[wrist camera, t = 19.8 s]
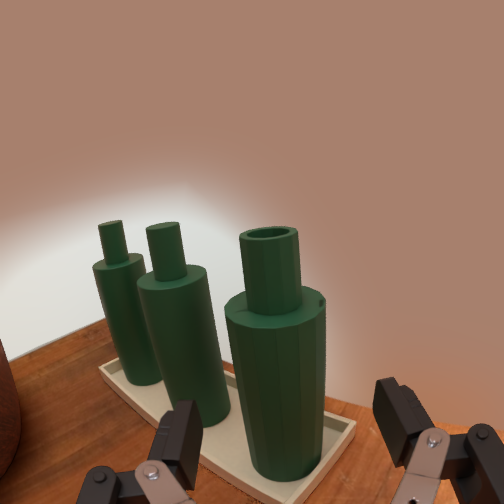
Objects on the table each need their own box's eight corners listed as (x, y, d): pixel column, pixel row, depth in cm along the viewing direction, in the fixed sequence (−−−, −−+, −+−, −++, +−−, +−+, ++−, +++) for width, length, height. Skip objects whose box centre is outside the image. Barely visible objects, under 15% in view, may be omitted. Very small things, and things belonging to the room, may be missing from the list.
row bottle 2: (216, 384, 31) (185, 215, 27) (241, 414, 27) (210, 221, 22) (167, 402, 29) (122, 228, 24) (186, 436, 24) (131, 238, 19)
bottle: (294, 423, 25) (281, 218, 20) (335, 458, 20) (345, 229, 15) (239, 450, 22) (198, 235, 17) (275, 494, 17) (247, 254, 13)
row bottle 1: (163, 355, 38) (132, 215, 33) (176, 377, 33) (140, 219, 28) (122, 367, 35) (84, 225, 30) (130, 391, 30) (83, 232, 26)
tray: (354, 436, 22) (357, 421, 22) (290, 517, 16) (289, 506, 15) (162, 349, 40) (158, 336, 40) (103, 380, 33) (97, 367, 33)
